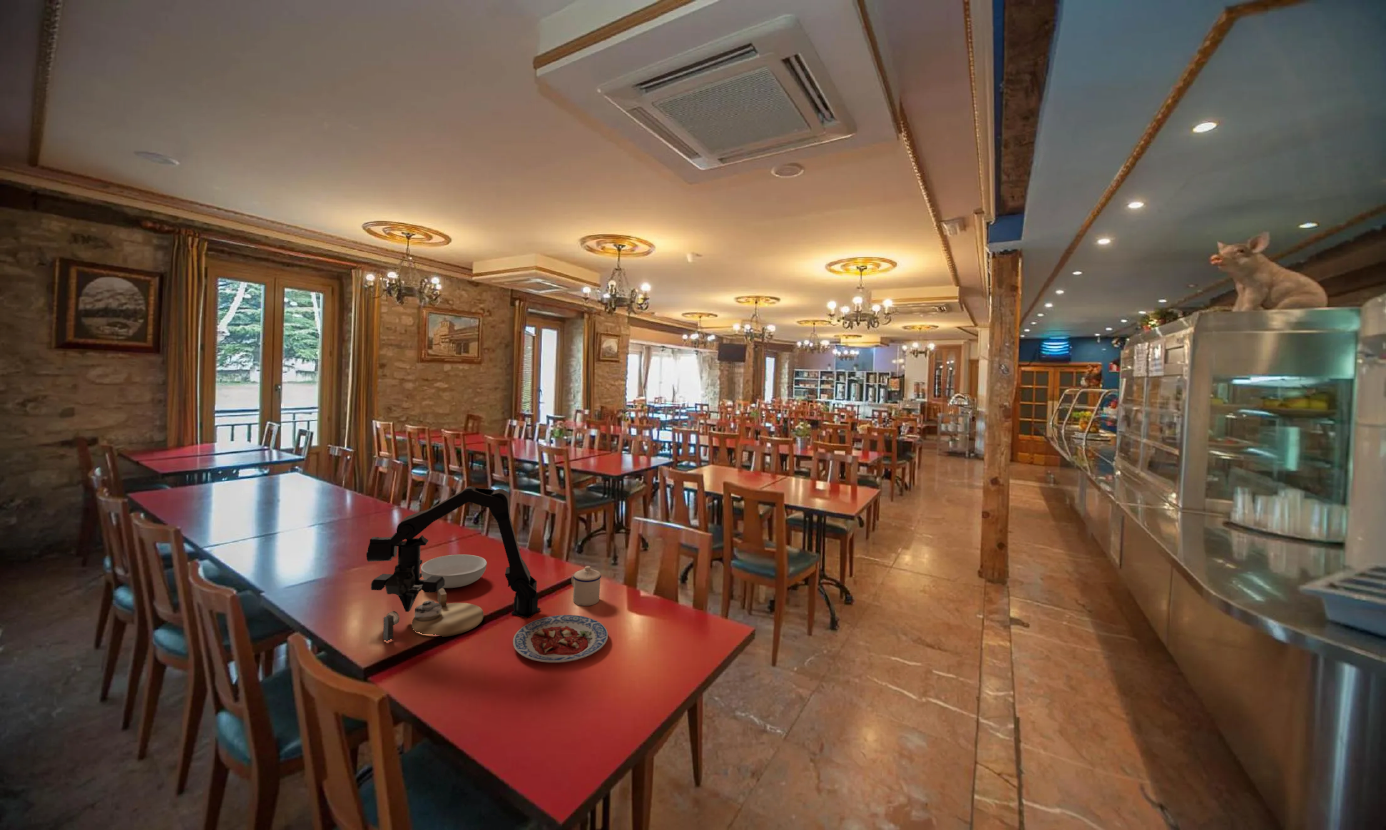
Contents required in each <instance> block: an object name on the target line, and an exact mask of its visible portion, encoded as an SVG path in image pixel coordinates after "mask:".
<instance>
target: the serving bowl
mask: <svg viewBox="0 0 1386 830" xmlns="http://www.w3.org/2000/svg"><path fill="white" fill-rule="evenodd" d="M487 565H488V562H487V560H486V559H485V558H484V557H482V556H478V555H473V554H463V553H462V554H450V555H442V556H437V557H434V558H432V559H429V560H427V561H425V562H423V563H422V564H421V565H420V573H422V578H423V580H427V579H428V578H429V577H431V576H441V577H443V578H444V580H445V585H444V586H443V587H442V588H444V589H453V588H455V589H456V588H461V587H465V586H468V585H471V584H473V583H475V582H477V581H478V580H479V579H480V578H482V576H483V575H484V573H485V572H486V569H487Z"/></svg>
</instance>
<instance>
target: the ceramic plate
mask: <svg viewBox="0 0 1386 830" xmlns="http://www.w3.org/2000/svg"><path fill="white" fill-rule="evenodd" d="M608 636H609V633H608V630H607V628H606V627H605V626H604V624H603V623H602V622H600V621H598V620H595V619H593V618H591V617H587V616H584V615H583V616H582V615H577V614H574V615H573V614H560V615H559V614H558V615H551V616H547V617H545V616H544V617H542V618H538V619H536V620H533V621H531V622H529V623H527V624H525V625H523V626H522V627H521V628H520V629H519V630H517V632H516V633H515V634H514V636H513V639H512V644H513V648H514V649H515V651H516V652H517V653H518V654H519V655H521V656H522V657H523V658H526V659H529V660H532V661H537V662H542V663H556V664H557V663H566V662H572V661H577V660H580V659H584V658H586V657H589V656H591V655H593V654H595V653H596V652H598V651H600V650H601V649H602V648H603V647H604V646H605V644H607V641H608V638H609V637H608Z"/></svg>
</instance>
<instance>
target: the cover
mask: <svg viewBox="0 0 1386 830" xmlns="http://www.w3.org/2000/svg"><path fill="white" fill-rule="evenodd" d="M441 611H442V605H441V604H439V603H438V602H435V600H425V601H424V602H422V604H420V605H418V606H416V607H415V608H414V617H415V620H417V621H421V622H426V621H432V620H435V619H437V618H439V617H440V616H441Z"/></svg>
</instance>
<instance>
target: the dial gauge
mask: <svg viewBox="0 0 1386 830" xmlns="http://www.w3.org/2000/svg"><path fill="white" fill-rule="evenodd" d="M398 623H400V615H399V613H398V611H395V610H392V611H390V612H388V613H387V614H386V616H384V617H383V632H382V633H383V634H382V635H383V637H382V640H383V639H384V640H386V641H388V640H390V639H392V638H393V639H394V626H396V625H397V624H398Z"/></svg>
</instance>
